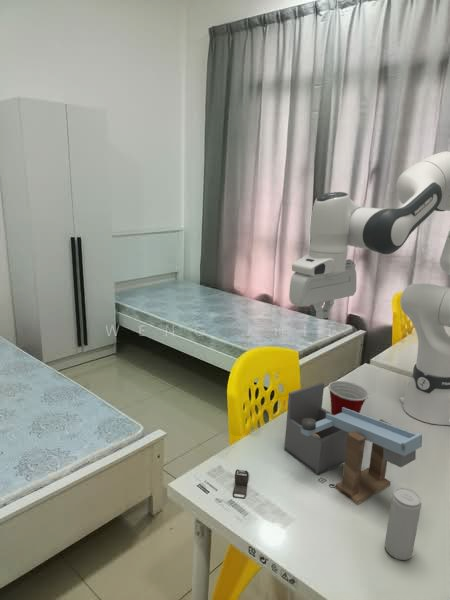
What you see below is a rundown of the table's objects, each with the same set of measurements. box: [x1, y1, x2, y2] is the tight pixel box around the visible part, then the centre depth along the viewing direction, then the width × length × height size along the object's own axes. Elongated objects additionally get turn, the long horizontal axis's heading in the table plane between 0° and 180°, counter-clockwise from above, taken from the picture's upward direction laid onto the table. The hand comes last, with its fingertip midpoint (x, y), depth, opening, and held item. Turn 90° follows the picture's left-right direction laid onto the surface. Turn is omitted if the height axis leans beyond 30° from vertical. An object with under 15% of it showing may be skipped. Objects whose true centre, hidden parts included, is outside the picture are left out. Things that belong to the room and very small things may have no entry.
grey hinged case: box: [232, 469, 250, 500], centre depth 94 cm, size 8×3×4 cm, turn 171°
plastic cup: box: [328, 380, 370, 415], centre depth 118 cm, size 11×11×12 cm
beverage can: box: [384, 487, 422, 561], centre depth 77 cm, size 5×5×12 cm
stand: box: [335, 419, 392, 505], centre depth 94 cm, size 11×6×14 cm, turn 124°
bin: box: [284, 382, 349, 476], centre depth 105 cm, size 12×12×16 cm
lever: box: [301, 407, 423, 468], centre depth 90 cm, size 14×20×6 cm
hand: (322, 317), depth 105 cm, fingers closed
